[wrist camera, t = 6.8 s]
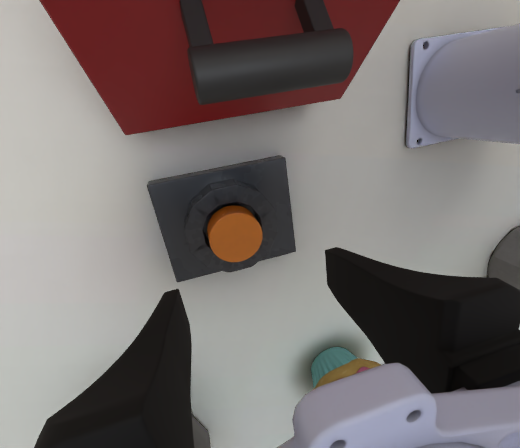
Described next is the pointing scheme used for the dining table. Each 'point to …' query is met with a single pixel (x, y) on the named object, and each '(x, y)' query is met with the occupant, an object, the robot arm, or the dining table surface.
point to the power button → (234, 233)
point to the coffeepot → (507, 260)
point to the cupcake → (337, 366)
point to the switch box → (214, 198)
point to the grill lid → (216, 54)
